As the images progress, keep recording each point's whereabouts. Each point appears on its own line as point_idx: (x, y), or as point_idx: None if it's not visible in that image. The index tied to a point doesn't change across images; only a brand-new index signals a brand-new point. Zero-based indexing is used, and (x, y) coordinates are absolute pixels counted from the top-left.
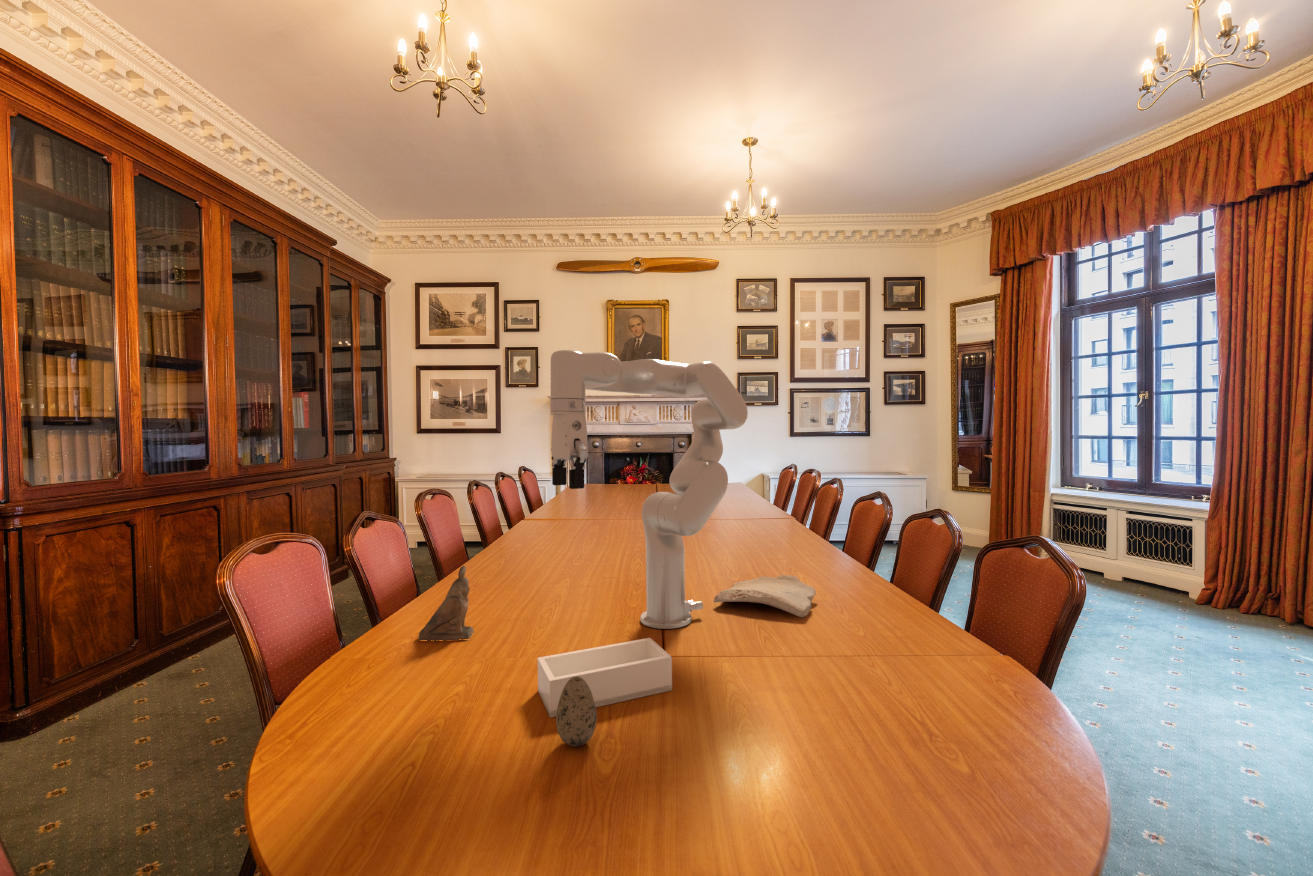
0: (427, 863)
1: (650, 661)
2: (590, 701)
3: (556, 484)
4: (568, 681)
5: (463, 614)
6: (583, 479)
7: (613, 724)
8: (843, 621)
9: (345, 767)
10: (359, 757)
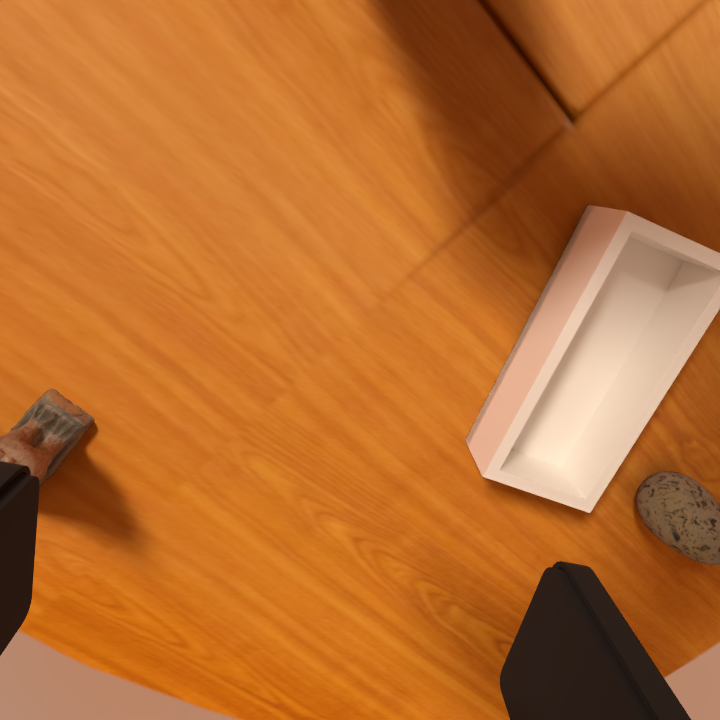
0: (665, 675)
1: (712, 318)
2: None
3: (30, 589)
4: (711, 563)
5: (43, 456)
6: (630, 647)
7: (667, 415)
8: None
9: (439, 691)
10: (429, 677)
